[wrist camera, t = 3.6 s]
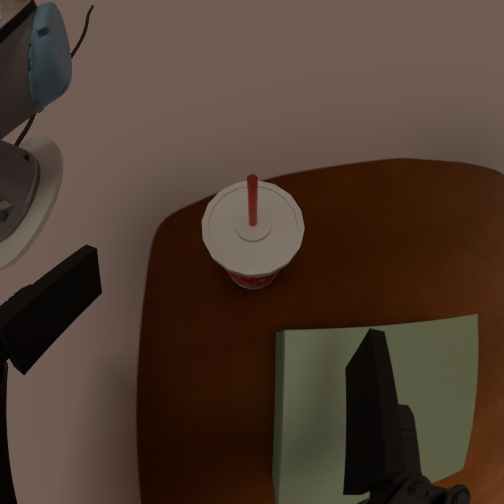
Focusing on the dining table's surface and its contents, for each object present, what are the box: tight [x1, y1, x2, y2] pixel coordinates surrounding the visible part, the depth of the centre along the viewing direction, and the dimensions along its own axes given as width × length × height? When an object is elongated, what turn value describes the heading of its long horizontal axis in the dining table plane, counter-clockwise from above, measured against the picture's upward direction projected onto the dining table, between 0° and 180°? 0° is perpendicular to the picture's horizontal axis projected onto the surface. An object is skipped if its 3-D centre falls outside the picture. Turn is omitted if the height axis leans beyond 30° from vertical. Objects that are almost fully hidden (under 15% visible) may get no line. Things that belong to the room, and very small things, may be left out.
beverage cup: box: [202, 174, 305, 290], centre depth 19 cm, size 6×6×14 cm
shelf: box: [272, 314, 478, 504], centre depth 18 cm, size 14×16×7 cm
